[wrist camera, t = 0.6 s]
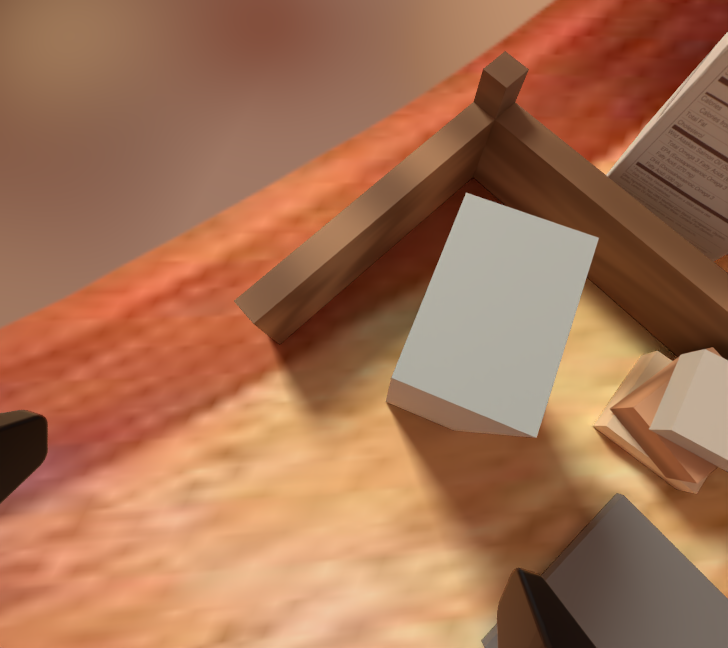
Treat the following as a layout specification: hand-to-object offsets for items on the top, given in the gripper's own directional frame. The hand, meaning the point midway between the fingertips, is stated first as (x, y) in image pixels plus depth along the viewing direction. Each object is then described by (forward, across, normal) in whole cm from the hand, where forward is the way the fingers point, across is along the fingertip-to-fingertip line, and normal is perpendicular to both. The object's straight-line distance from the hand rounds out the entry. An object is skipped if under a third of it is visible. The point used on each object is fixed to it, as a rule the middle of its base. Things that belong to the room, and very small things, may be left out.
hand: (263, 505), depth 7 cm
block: (+16, -4, +2) cm, 17 cm away
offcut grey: (+14, -16, 0) cm, 21 cm away
